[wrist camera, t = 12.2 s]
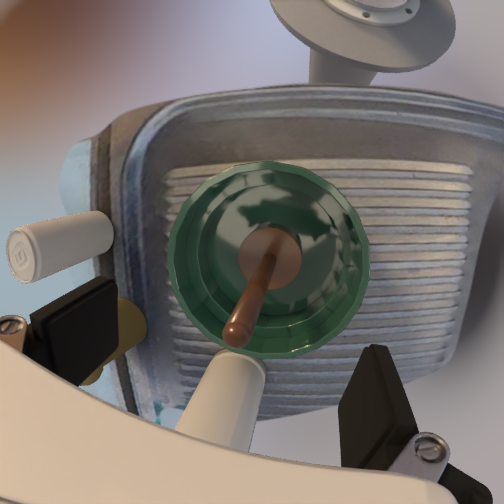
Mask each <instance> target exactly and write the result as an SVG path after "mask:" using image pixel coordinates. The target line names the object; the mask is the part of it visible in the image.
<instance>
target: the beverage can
mask: <svg viewBox="0 0 504 504" xmlns="http://www.w3.org/2000/svg"><path fill="white" fill-rule="evenodd" d="M113 237H114V231H113V226H112V223H111V221H110V220H109V218H108V217H107V216H106V215H105V214H104V213H102V212H100V211H91V212H85V213H80V214H75V215H70V216H65V217H60V218H55V219H51V220H46V221H41V222H37V223H32V224H28V225H24V226H20V227H18V228H17V229H15V230H13V231H11V232H10V234H9V235H8V238H7V243H6V255H7V260H8V263H9V267H10V269H11V271H12V273H13V275H14V276H15V277H16V279H17V280H18V281H20V282H21V283H25V284H27V283H29V282H31V283H32V282H36V281H38V280H40V279H43V278H45V277H47V276H50V275H52V274H54V273H56V272H59V271H61V270H64V269H66V268H68V267H71V266H73V265H75V264H78V263H80V262H83V261H85V260H87V259H90V258H92V257H95V256H97V255H100V254H102V253H105V252H106V251H108V250H109V248H110V247H111V245H112V242H113Z"/></svg>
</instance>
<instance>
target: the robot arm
mask: <svg viewBox="0 0 504 504" xmlns="http://www.w3.org/2000/svg"><path fill="white" fill-rule="evenodd" d="M322 1H323V2H324V3H325V4H327V5H328V6H329V7H330V8H332V9H333V10H334V11H336V12H338V13H339V14H341V15H343V16H345V17H347V18H349V19H352V20H354V21H357V22H360V23H363V24H367V25H372V26H378V27H393V26H399V25H402V24H405V23H407V22H408V21H410V20H411V19H412V18H413V17H414V16H415V15H416V13H417V11H418V10H419V6H420V0H322ZM30 320H31V323H30V324H29V325H28V324H27V321H26V320H25V319H24V318H23V317H21V316H18V315H6V316H2V317H1V318H0V504H492V503H493V498H492V495H491V492H490V491H489V489H488V488H487V487H486V486H485V485H483V484H482V483H480V482H478V481H477V480H475V479H473V478H472V477H470V476H468V475H467V474H465V473H463V472H462V471H460V470H459V469H457V468H455V467H454V466H452V465H451V464H449V463H448V461H449V457H450V449H449V446H448V444H447V443H446V442H445V440H444V439H442V438H441V437H440V436H438V435H436V434H434V433H430V432H420V433H419V431H418V428H417V424H416V421H415V418H414V415H413V412H412V410H411V407H410V404H409V401H408V398H407V396H406V393H405V390H404V388H403V385H402V382H401V380H400V377H399V375H398V372H397V370H396V367H395V365H394V362H393V360H392V357H391V355H390V352H389V350H388V348H387V346H383V345H377V344H371V345H370V346H369V347H365V348H364V350H363V352H362V354H361V357H360V359H359V361H358V364H357V366H356V368H355V370H354V373H353V375H352V377H351V379H350V381H349V383H348V386H347V388H346V390H345V392H344V394H343V396H342V398H341V400H340V402H339V406H338V418H339V432H340V448H341V467H336V466H326V465H318V464H311V463H304V462H298V461H292V460H286V459H279V458H274V457H269V456H264V455H260V454H255V453H250V452H246V451H242V450H238V449H234V448H230V447H227V446H223V445H219V444H216V443H212V442H209V441H206V440H202V439H199V438H196V437H193V436H190V435H187V434H184V433H181V432H178V431H175V430H172V429H169V428H167V427H164V426H161V425H159V424H156V423H154V422H151V421H149V420H146V419H144V418H141V417H139V416H137V415H134V414H132V413H130V412H127V411H125V410H123V409H121V408H119V407H116V406H114V405H112V404H110V403H108V402H106V401H104V400H102V399H100V398H98V397H96V396H94V395H92V394H90V393H88V392H86V391H84V390H82V389H81V388H79V385H81V384H82V383H83V382H84V381H85V380H86V379H87V378H88V377H89V376H90V375H91V374H92V373H93V372H94V371H95V370H96V369H97V368H98V367H99V366H100V365H101V364H102V363H103V362H104V361H105V360H106V359H107V358H108V357H109V356H111V355H112V354H113V353H114V352H115V351H116V350H117V348H118V346H119V328H118V287H117V285H116V284H115V282H114V280H113V279H110V278H107V277H104V276H98V277H96V278H94V279H92V280H90V281H89V282H87V283H85V284H83V285H81V286H79V287H78V288H76V289H74V290H72V291H70V292H69V293H67V294H65V295H63V296H61V297H60V298H58V299H56V300H54V301H52V302H51V303H49V304H47V305H45V306H44V307H42V308H40V309H38V310H37V311H35V312H33V313H32V314H30Z"/></svg>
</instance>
